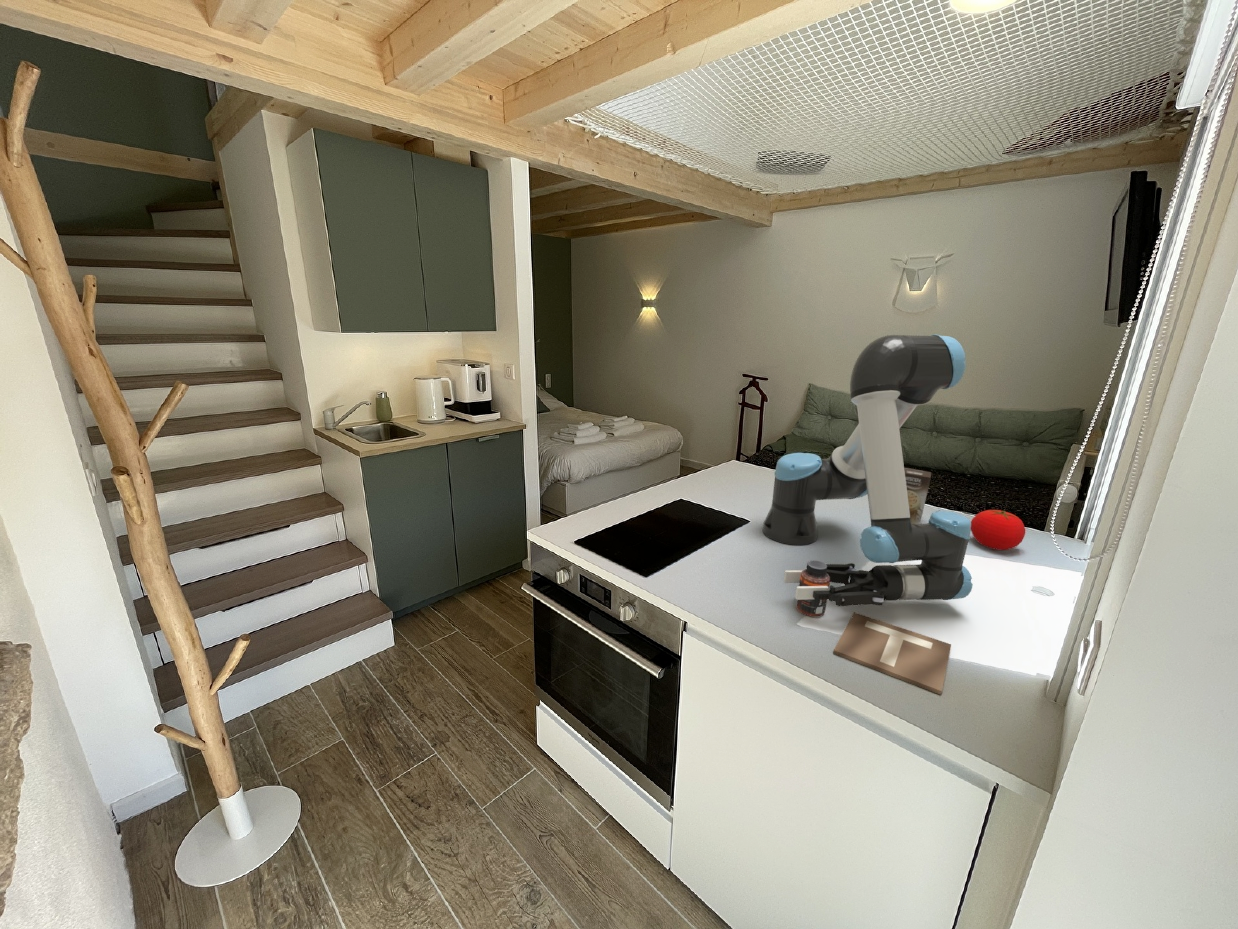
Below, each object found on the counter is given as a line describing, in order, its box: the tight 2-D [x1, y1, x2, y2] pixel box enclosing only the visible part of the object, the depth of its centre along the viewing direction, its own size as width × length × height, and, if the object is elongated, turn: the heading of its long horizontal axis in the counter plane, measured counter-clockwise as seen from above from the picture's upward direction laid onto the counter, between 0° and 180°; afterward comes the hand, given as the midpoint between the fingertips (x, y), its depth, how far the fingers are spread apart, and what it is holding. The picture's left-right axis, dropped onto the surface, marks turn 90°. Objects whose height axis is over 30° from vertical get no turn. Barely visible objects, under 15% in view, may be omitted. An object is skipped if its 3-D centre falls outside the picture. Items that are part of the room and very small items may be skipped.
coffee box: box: [904, 467, 932, 524], centre depth 159 cm, size 9×6×16 cm
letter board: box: [832, 611, 952, 696], centre depth 100 cm, size 18×16×1 cm
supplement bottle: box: [796, 559, 831, 618], centre depth 112 cm, size 6×6×11 cm
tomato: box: [970, 509, 1026, 551], centre depth 143 cm, size 11×12×10 cm
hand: (790, 584), depth 111 cm, fingers closed on supplement bottle, 6 cm apart
